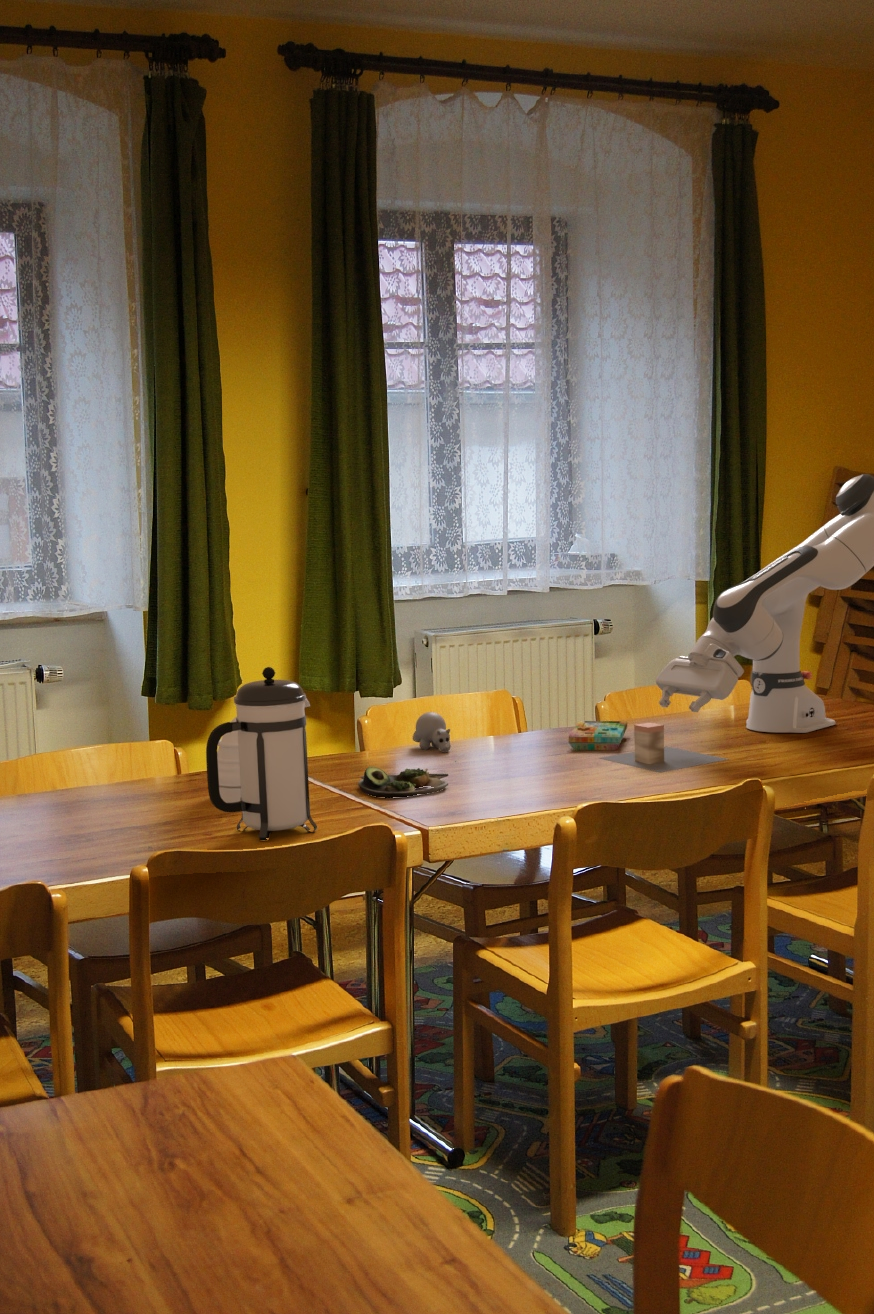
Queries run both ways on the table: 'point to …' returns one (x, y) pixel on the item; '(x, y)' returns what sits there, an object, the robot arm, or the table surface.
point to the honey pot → (229, 767)
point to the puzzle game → (597, 735)
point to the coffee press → (267, 756)
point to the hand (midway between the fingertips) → (677, 708)
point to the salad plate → (400, 782)
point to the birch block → (649, 743)
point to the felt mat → (667, 760)
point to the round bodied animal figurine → (432, 732)
